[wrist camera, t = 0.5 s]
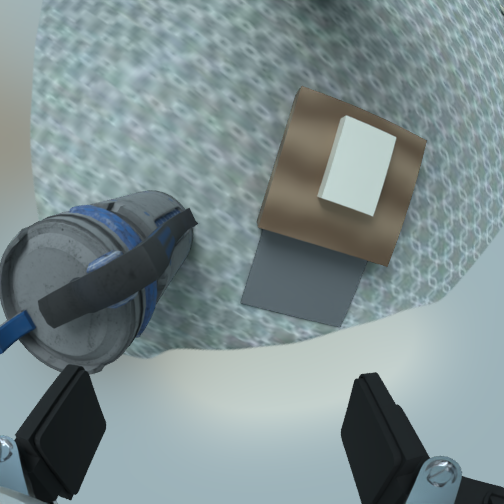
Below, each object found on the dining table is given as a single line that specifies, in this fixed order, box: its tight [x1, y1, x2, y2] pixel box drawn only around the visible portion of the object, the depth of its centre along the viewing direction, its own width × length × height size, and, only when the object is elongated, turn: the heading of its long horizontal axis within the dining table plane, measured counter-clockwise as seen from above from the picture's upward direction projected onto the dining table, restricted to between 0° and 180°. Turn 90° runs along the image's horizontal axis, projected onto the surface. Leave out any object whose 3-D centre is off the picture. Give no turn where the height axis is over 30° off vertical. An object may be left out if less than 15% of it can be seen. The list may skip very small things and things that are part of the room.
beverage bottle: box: [0, 191, 198, 374], centre depth 25 cm, size 10×13×25 cm
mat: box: [241, 229, 367, 327], centre depth 39 cm, size 10×14×1 cm
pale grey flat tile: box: [317, 115, 396, 216], centre depth 30 cm, size 9×6×2 cm, turn 163°
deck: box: [257, 86, 427, 267], centre depth 34 cm, size 16×16×4 cm
